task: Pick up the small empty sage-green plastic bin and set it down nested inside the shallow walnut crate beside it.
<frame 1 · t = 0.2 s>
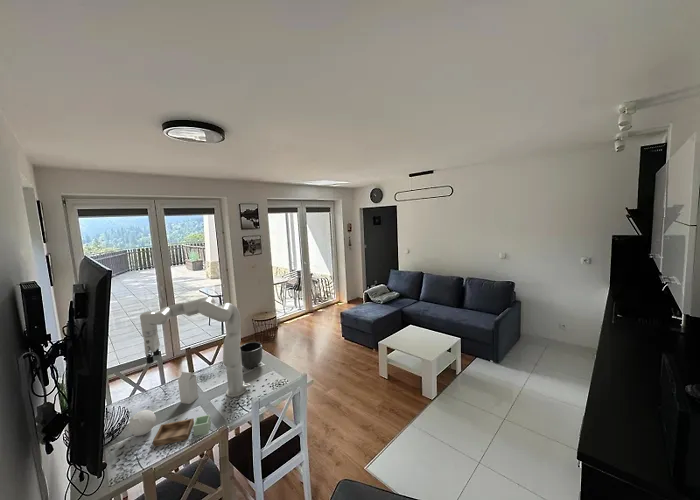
hand: (153, 359, 174), 31 cm above the table, fingers open, 9 cm apart
sage bin: (202, 430, 157), on the table
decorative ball: (144, 432, 157), on the table
walnut crate: (174, 434, 154), on the table
milk carton: (189, 400, 183), on the table
planter: (251, 366, 221), on the table
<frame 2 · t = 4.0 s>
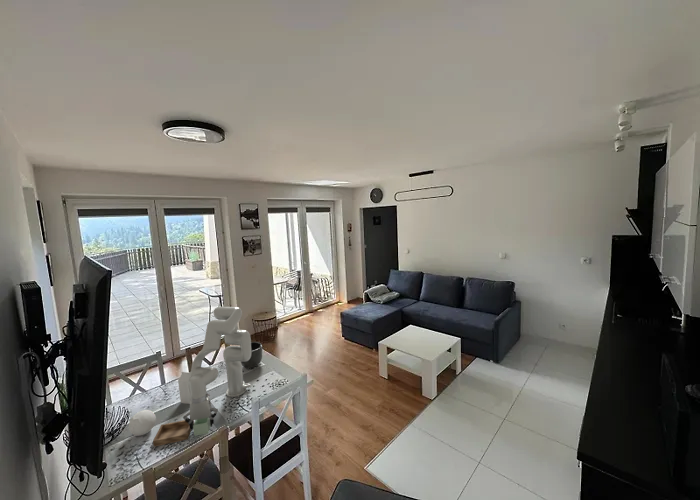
hand: (202, 426, 156), 2 cm above the table, fingers open, 9 cm apart
nothing on the table moved.
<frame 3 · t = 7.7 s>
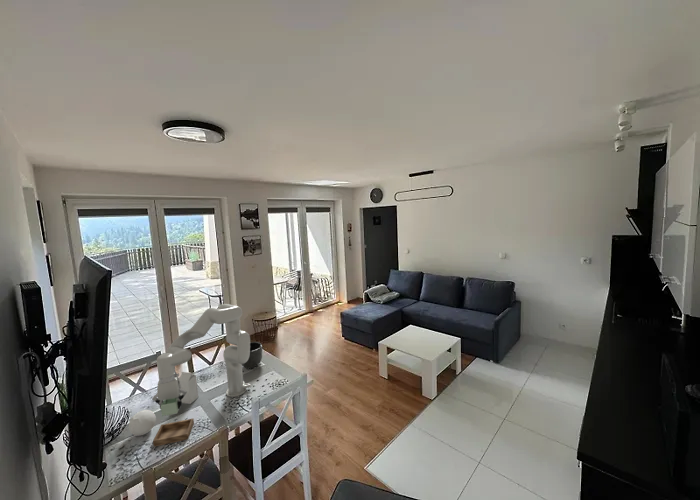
hand: (171, 408, 152), 15 cm above the table, fingers closed on sage bin, 7 cm apart
sage bin: (171, 410, 153), point 14 cm above the table, touching gripper
everything else where it was.
when the fingers open (4 cm above the table, at t = 10.6 s): sage bin drops 2 cm, resting on walnut crate.
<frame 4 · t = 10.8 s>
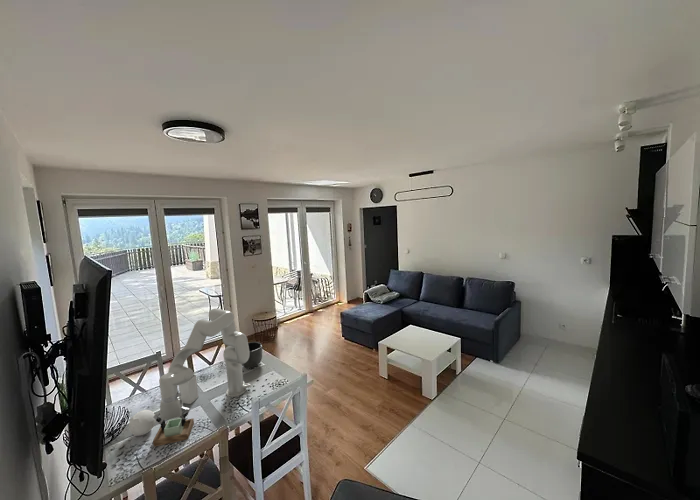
hand: (173, 426, 154), 5 cm above the table, fingers open, 9 cm apart
sage bin: (174, 433, 154), point 1 cm above the table, touching walnut crate
everything else where it was.
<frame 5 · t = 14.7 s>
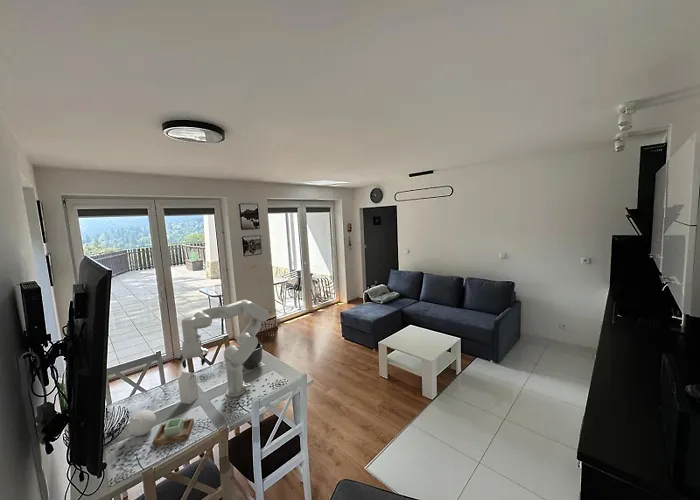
hand: (194, 365, 170), 28 cm above the table, fingers open, 9 cm apart
nothing on the table moved.
at the end: sage bin inside the target area on the walnut crate (0.1 cm from its centre), point 0.6 cm above the walnut crate's base; sage bin tilted 0°; the gripper is holding nothing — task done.
